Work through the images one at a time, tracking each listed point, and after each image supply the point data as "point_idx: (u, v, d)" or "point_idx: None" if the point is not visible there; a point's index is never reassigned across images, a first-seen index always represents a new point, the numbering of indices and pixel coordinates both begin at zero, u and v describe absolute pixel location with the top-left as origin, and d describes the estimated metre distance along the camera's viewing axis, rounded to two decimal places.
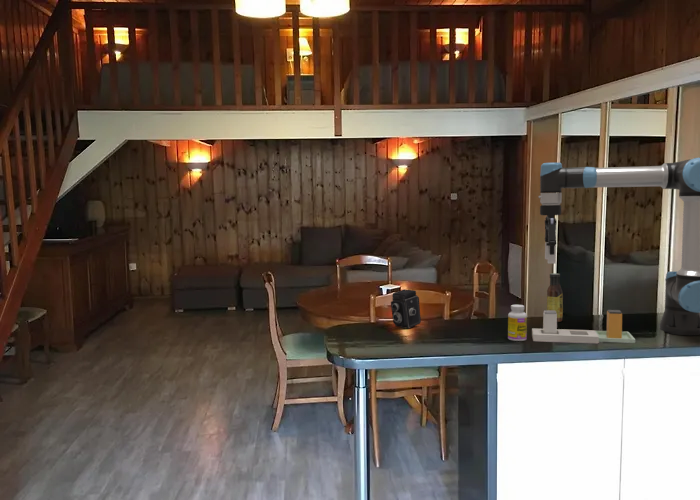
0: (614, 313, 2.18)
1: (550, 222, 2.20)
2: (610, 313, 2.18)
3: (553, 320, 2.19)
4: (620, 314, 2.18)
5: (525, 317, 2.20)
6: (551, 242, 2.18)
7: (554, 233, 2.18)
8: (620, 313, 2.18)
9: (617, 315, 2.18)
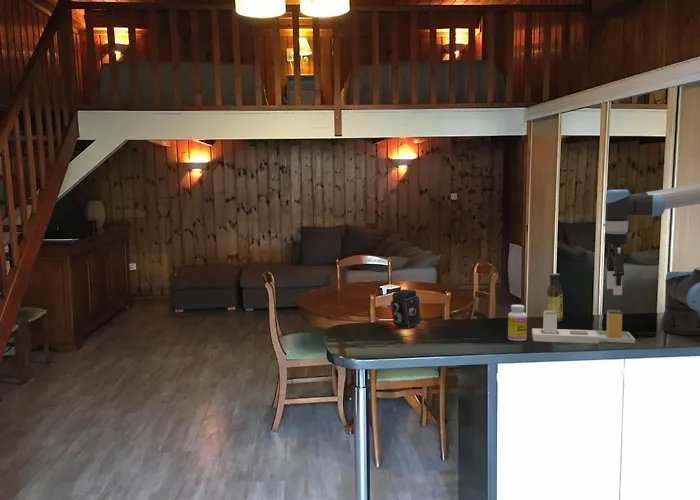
0: (614, 313, 2.18)
1: (617, 252, 2.11)
2: (610, 313, 2.18)
3: (553, 320, 2.19)
4: (620, 314, 2.18)
5: (525, 317, 2.20)
6: (619, 273, 2.09)
7: (621, 263, 2.10)
8: (620, 313, 2.18)
9: (617, 315, 2.18)
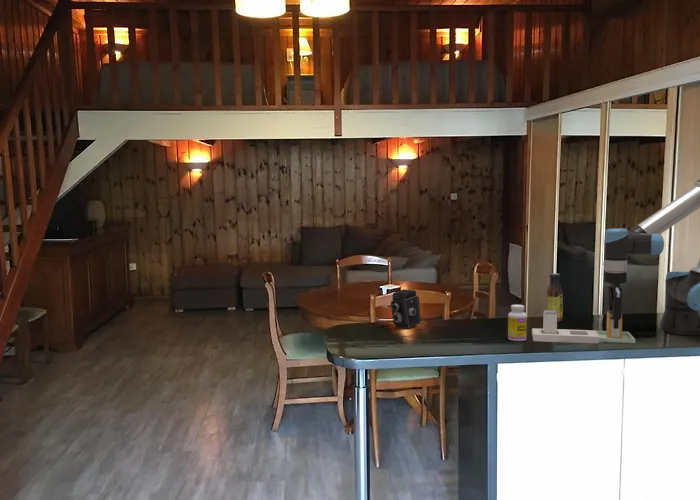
0: None
1: (616, 296, 2.13)
2: (610, 313, 2.18)
3: (553, 320, 2.19)
4: None
5: (525, 317, 2.20)
6: (616, 317, 2.15)
7: (620, 308, 2.14)
8: None
9: None
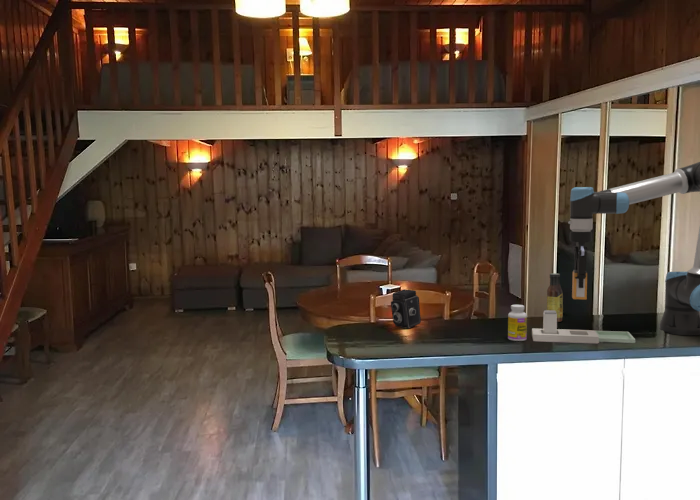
0: None
1: (581, 254, 2.11)
2: (575, 272, 2.16)
3: (553, 320, 2.19)
4: None
5: (525, 317, 2.20)
6: (580, 275, 2.12)
7: (584, 266, 2.12)
8: None
9: None
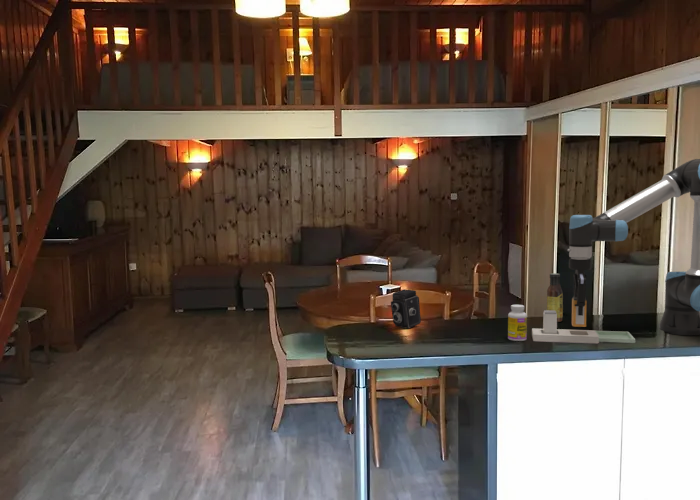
0: None
1: (580, 283, 2.12)
2: (574, 300, 2.17)
3: (553, 320, 2.19)
4: None
5: (525, 317, 2.20)
6: (580, 303, 2.13)
7: (583, 294, 2.12)
8: None
9: None
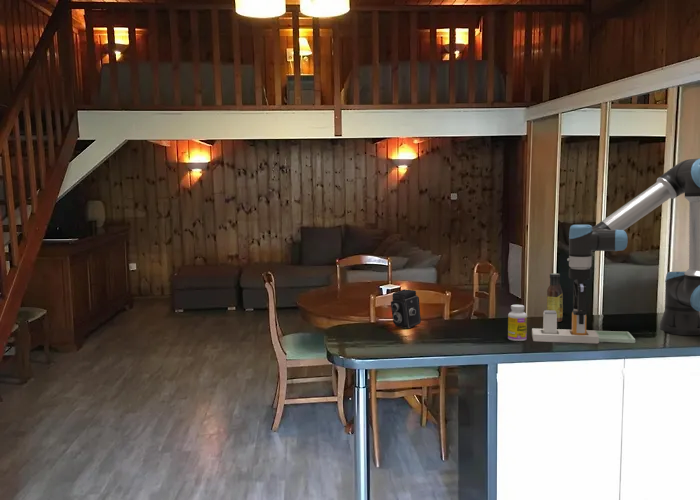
0: None
1: (580, 290, 2.12)
2: (574, 314, 2.18)
3: (553, 320, 2.19)
4: None
5: (525, 317, 2.20)
6: (581, 312, 2.11)
7: (584, 302, 2.11)
8: None
9: None
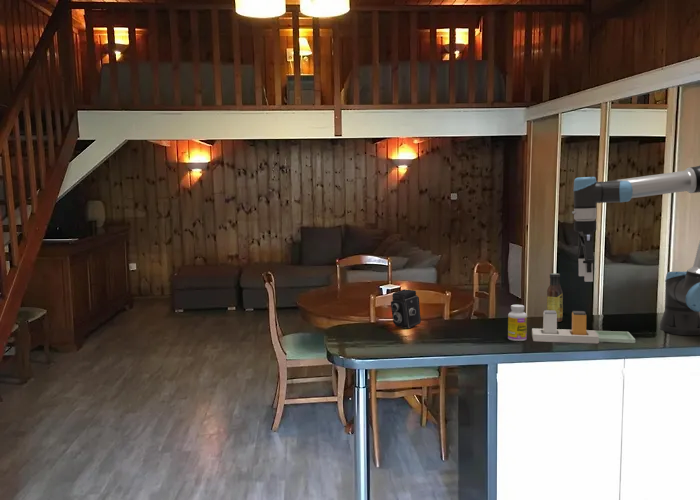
0: (578, 314, 2.17)
1: (586, 239, 2.13)
2: (574, 314, 2.18)
3: (553, 320, 2.19)
4: (584, 315, 2.17)
5: (525, 317, 2.20)
6: (588, 260, 2.10)
7: (591, 250, 2.11)
8: (584, 314, 2.17)
9: (581, 316, 2.17)
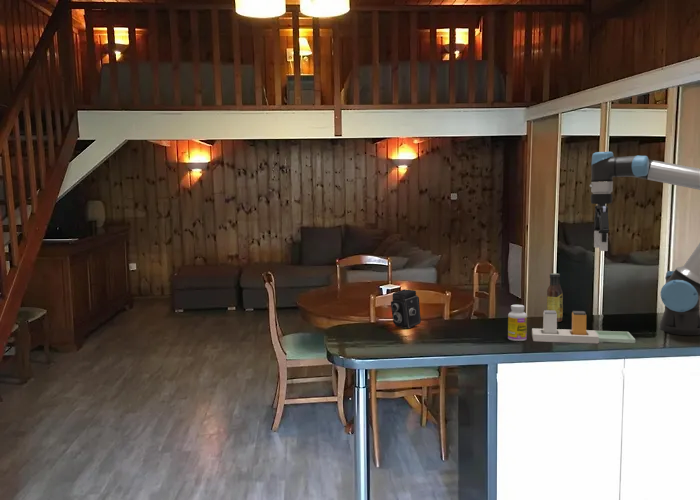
0: (578, 314, 2.17)
1: (602, 210, 2.24)
2: (574, 314, 2.18)
3: (553, 320, 2.19)
4: (584, 315, 2.17)
5: (525, 317, 2.20)
6: (604, 230, 2.22)
7: (607, 221, 2.23)
8: (584, 314, 2.17)
9: (581, 316, 2.17)
